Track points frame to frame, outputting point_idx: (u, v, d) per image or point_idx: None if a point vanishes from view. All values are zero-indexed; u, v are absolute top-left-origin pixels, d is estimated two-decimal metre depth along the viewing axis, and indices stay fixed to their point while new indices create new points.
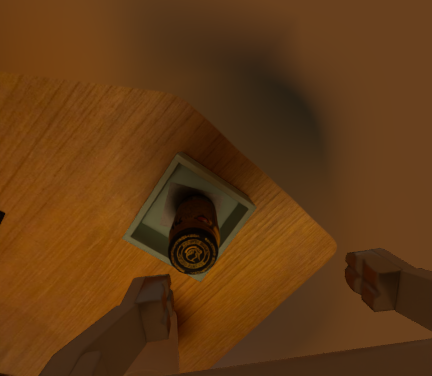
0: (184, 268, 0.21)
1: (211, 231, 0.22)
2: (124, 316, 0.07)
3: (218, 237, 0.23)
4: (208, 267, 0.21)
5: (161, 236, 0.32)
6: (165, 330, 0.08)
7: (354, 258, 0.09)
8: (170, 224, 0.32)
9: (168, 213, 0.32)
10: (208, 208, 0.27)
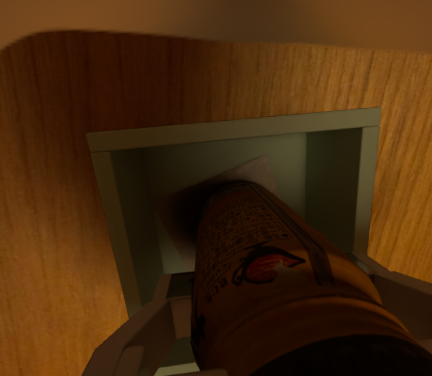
0: None
1: (347, 306, 0.04)
2: (158, 311, 0.07)
3: (366, 282, 0.06)
4: None
5: None
6: None
7: None
8: None
9: (193, 258, 0.15)
10: (255, 203, 0.09)
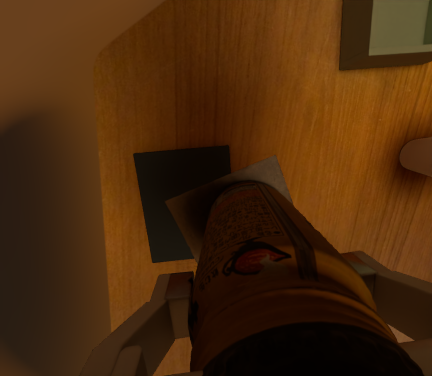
0: None
1: (321, 298, 0.04)
2: (157, 312, 0.07)
3: (354, 280, 0.06)
4: None
5: None
6: None
7: None
8: None
9: None
10: (257, 202, 0.10)
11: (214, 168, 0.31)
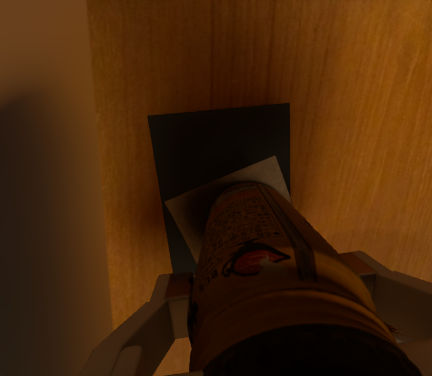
0: None
1: (320, 300, 0.04)
2: (156, 311, 0.07)
3: (354, 281, 0.06)
4: None
5: None
6: None
7: None
8: None
9: None
10: (257, 203, 0.10)
11: (266, 138, 0.21)
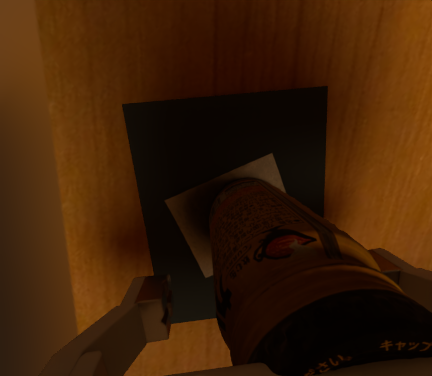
0: None
1: (353, 271, 0.05)
2: (124, 316, 0.07)
3: (368, 258, 0.07)
4: None
5: None
6: (165, 330, 0.08)
7: None
8: None
9: (204, 252, 0.16)
10: (265, 196, 0.10)
11: (293, 137, 0.15)
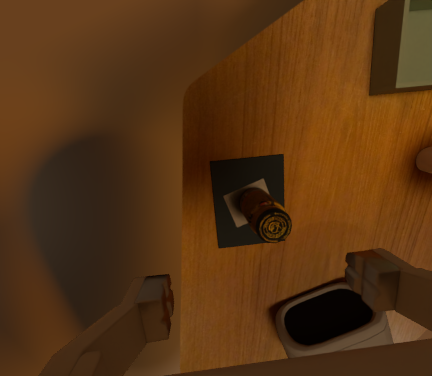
0: (276, 239, 0.30)
1: (274, 206, 0.30)
2: (124, 316, 0.07)
3: (281, 207, 0.31)
4: (289, 228, 0.29)
5: None
6: (165, 330, 0.08)
7: (354, 259, 0.09)
8: (243, 222, 0.41)
9: (237, 216, 0.41)
10: (260, 194, 0.35)
11: (271, 172, 0.39)
